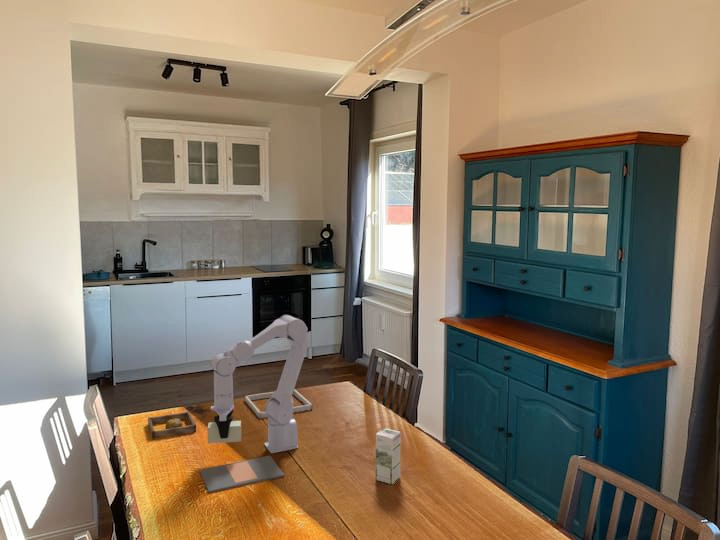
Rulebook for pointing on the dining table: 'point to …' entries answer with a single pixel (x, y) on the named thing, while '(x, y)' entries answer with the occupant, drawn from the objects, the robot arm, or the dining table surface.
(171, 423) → the fruit
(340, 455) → the dining table surface
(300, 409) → the box rim
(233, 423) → the block
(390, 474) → the syrup box
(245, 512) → the dining table surface
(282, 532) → the dining table surface
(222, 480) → the mat
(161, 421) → the fruit rim
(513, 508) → the dining table surface
